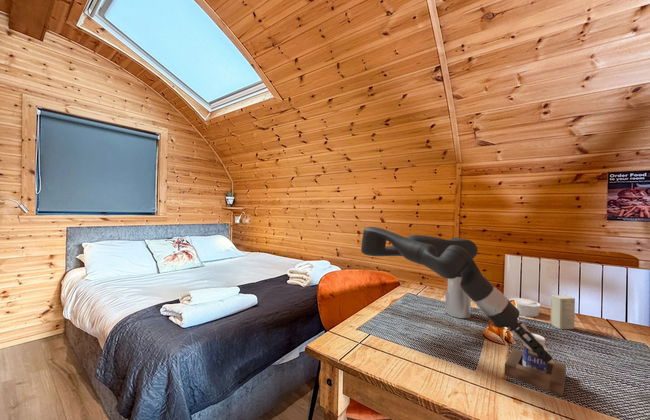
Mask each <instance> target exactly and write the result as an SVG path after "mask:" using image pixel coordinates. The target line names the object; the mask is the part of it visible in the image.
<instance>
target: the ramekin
mask: <svg viewBox="0 0 650 420" xmlns="http://www.w3.org/2000/svg"><path fill="white" fill-rule="evenodd" d="M510 300H515V301H516V302H517V309H518V310H519V316H522V317H528V318H535V317H538V316H539V313H540V310H541V308H542V305H541V303H539V302H538V301H534V300H532V299H528V298H522V297H512V298H510V299H509V301H510Z"/></svg>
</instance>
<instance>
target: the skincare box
mask: <svg viewBox="0 0 650 420" xmlns="http://www.w3.org/2000/svg"><path fill="white" fill-rule="evenodd" d="M575 300H576V298H575V297H572V296H569V295H567V294H552V295H551V296H550V325H551V326H553V327H555V328H557V329H559V330H574V329H575V319H576V316H575V311H576V306H575V305H576V301H575Z"/></svg>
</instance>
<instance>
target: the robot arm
mask: <svg viewBox="0 0 650 420" xmlns="http://www.w3.org/2000/svg"><path fill="white" fill-rule="evenodd" d="M387 241H388V242H389V243H390V244H391V245H389V246H386V245H387ZM360 250H361V253H362V254H364V255H365V256H370V257H403V258H405V259H406V260H408V262H409V261H410V262H412V263H415V264H419V265H422V266H424V267H426V268H428V269H429V270H431V271H433V272H434V273H436V274H437V275H438V276H440V277H442V278H444V279H447V290H446V291H445V309H444V310H445V314H448V315H449V316H451V317H454V318H459V319H469V318H471V315H472V311H471V309H472V308H471V307H472V301H473V303H474V304H475V305H476V307H478V309H479V310H480V311H481V312H482V314H484V315H485V316H486V317H487V318H488V319H489V320H490V321H491V322H492V323H493V325H495V327H498V328H501V329H502V328H506V329H507V330H508V331H510V333H511V334H513V336H515V337H516V338H518V340H520V342H521V343H522V345H523V344H525V345H528V346H529V347H530V348H531V350H532V351H533V352H534V353H536V354H537V355H538V356H539V357H540V358H541V359H542V360H543V361H544V362H546V363H547V362H549V361H550V360H552V361H553V357H552V356H551V355H550V353H547V352H546V351H545V350H544V347H543V346H542V345H541V344H540V343H539V342H538V341H537V340H536V339H535V336H534V335H533V334H534V333H533V332H531V331H530V330H529V329H528V328H527V326H526V325H525V324H524V323H523V322H522V321H520V319H519V318H520V315H519V310H518V309H517V308H516V307H515V306H514V305H513V304H512V303H511V302H510V299H508V298H507V297H506V296H505V295H504V294H503V292H501V291H500V290H499V289H498V288H496V287H495V286H494V285H493V284H492V283H491V282H490V281H489V280H488V279H487V278H486V277H485V276H484V275H483V274H482V271H481V270H480V268H479V267H478V265H477V264H476V263H477V262H475V260H474V259H475V258H476V256H477V254H478V252H479V250H478V246H477V244H476V243H475V242H474V241H472V240H471V239H468V238H461V237H451V238H449V239H445V238H440V237H436V236H431V235H430V236H429V235H423V234H410V235H408V236H406V237H405V236H403V235H400V234H398V233H395V232H392V231H391V230H387V229H385V228H380V227H378V226H377V227H376V226H367V227H364V229H363V232H362V239H361V245H360ZM471 300H472V301H471ZM532 333H533V334H532Z"/></svg>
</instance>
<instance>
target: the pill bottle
mask: <svg viewBox="0 0 650 420" xmlns="http://www.w3.org/2000/svg"><path fill="white" fill-rule="evenodd" d="M531 333H532V334H533V335H534V336H535V339H536V340H537V341H538V342H539V343H540V344H541V345H542V346H543V347H544V350H545V351H546V352H547V353H548V351H549V350H548V348H547V346H546V345H545V344H546V338H545V337H544V336H542V335H540V334H538V333H533V332H531ZM522 347H523V348H522V351H523V365H522V366H525V367H528V368H531V369H534V370H537V371H540V372H542V373H545V374H547V373H546V372H547V363H546V362H544V361H543V360H542V359H541V358H540V357H539V356H538V355H537V354H536V353H534V352H533V351H532V350H531V348H530V347H529V346H528V345H525V344H523V343H522ZM548 354H549V353H548Z"/></svg>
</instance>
